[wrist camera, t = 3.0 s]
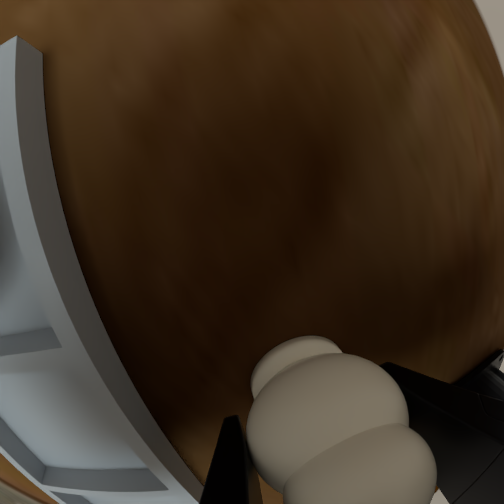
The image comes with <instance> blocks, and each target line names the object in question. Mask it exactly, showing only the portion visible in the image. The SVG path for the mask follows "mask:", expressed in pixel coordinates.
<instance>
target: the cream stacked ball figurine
mask: <svg viewBox="0 0 504 504" xmlns="http://www.w3.org/2000/svg"><path fill="white" fill-rule="evenodd" d="M250 387H251V391H252V394H253V397H254V402H253V404H252V407H251V409H250V412H249V415H248V420H247V425H246V444H247V448H248V452H249V455H250V458H251V461H252V464H253V466H254V467H255V469H256V471H257V472H258V474H259V475H260V476H261V478H262V479H263V480H264V481H265V482H266V483H267V484H268V485H270V486H271V487H272V488H273V489H274V490H276V491H277V492H279V493H281V494H283V504H430V502H431V500H432V497H433V495H434V491H435V487H436V481H437V468H436V462H435V458H434V456H433V453H432V451H431V449H430V447H429V446H428V444H427V443H426V441H425V440H424V439H423V438H422V437H421V436H420V435H419V434H418V433H416V432H415V431H414V430H412V429H411V428H409V414H408V408H407V404H406V401H405V397H404V395H403V393H402V391H401V390H400V388H399V386H398V384H397V383H396V382H395V380H394V379H393V378H392V377H391V376H390V375H389V374H388V373H387V372H386V371H385V370H384V369H383V368H381V367H379V366H378V365H376V364H375V363H373V362H371V361H369V360H367V359H364V358H362V357H359V356H355V355H350V354H345V353H343V352H342V351H341V350H340V349H339V348H338V346H337V345H336V344H335V343H334V342H333V341H331V340H329V339H327V338H325V337H321V336H302V337H297V338H293V339H290V340H288V341H285V342H283V343H281V344H279V345H278V346H276V347H274V348H273V349H272V350H270V351H269V352H268V353H267V354H265V355H264V356H263V357H262V359H261V360H260V361H259V362H258V364H257V365H256V366H255V368H254V370H253V373H252V375H251V380H250Z"/></svg>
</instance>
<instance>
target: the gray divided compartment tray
mask: <svg viewBox="0 0 504 504" xmlns="http://www.w3.org/2000/svg"><path fill="white" fill-rule="evenodd" d="M0 453H1V454H2V455H3V456H4V457H5V458H6V459H7V460H8V461H9V462H11V463H12V464H13V465H14V466H15V467H16V468H17V469H18V470H19V471H20V472H21V473H22V474H24V475H25V476H26V477H27V478H28V479H29V480H30V481H32V482H33V483H34V484H35V485H36V486H38V487H39V488H40V489H41V490H43V491H44V492H45V493H46V494H48V495H49V496H50V497H52V498H53V499H54V500H56V501H57V502H58V503H60V504H199V501H200V498H201V495H202V492H203V488H204V487H203V486H202V484H201V483H200V482H199V481H198V479H197V478H196V477H195V476H194V474H193V473H192V472H191V471H190V469H189V468H188V467H187V466H186V464H185V463H184V462H183V460H182V459H181V458H180V456H179V455H178V453H177V452H176V451H175V449H174V448H173V447H172V445H171V444H170V442H169V441H168V439H167V438H166V437H165V435H164V434H163V432H162V431H161V429H160V428H159V426H158V425H157V423H156V421H155V420H154V418H153V417H152V415H151V414H150V412H149V410H148V409H147V407H146V405H145V404H144V402H143V401H142V399H141V397H140V395H139V394H138V392H137V390H136V389H135V387H134V385H133V383H132V381H131V380H130V378H129V376H128V374H127V372H126V370H125V369H124V367H123V365H122V363H121V361H120V359H119V357H118V355H117V353H116V351H115V349H114V347H113V345H112V343H111V341H110V339H109V336H108V334H107V332H106V330H105V328H104V326H103V323H102V321H101V319H100V316H99V314H98V312H97V309H96V307H95V305H94V302H93V300H92V297H91V295H90V292H89V290H88V287H87V284H86V282H85V279H84V276H83V273H82V271H81V268H80V265H79V262H78V259H77V256H76V253H75V250H74V247H73V244H72V240H71V237H70V234H69V230H68V227H67V223H66V220H65V216H64V212H63V208H62V204H61V200H60V196H59V192H58V187H57V183H56V178H55V173H54V168H53V163H52V157H51V151H50V145H49V138H48V131H47V123H46V113H45V103H44V88H43V53H41V52H40V51H38V50H37V49H36V48H34V47H33V46H31V45H30V44H28V43H27V42H26V41H24V40H23V39H21V38H20V37H18V36H15V37H14V38H12V39H10V40H9V41H7V42H5V43H4V44H2V45H1V46H0Z"/></svg>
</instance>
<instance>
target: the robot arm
mask: <svg viewBox="0 0 504 504" xmlns="http://www.w3.org/2000/svg"><path fill="white" fill-rule="evenodd" d="M503 358H504V351H503V350H502V349H500V350H498V351H497V352H496V353H495V354H494V355H493V356H492V357H490V358H489V359H488V360H487V361H486V362H484V363H483V364H482V365H481V366H479V367H478V368H477V369H476V370H474V371H473V372H472V373H470V374H469V375H468V376H466V377H465V378H464V379H462V380H461V381H460V382H458V383H457V384H456V385H451V384H449V383H446V382H443V381H440V380H437V379H434V378H431V377H429V376H426V375H423V374H420V373H418V372H415V371H412V370H409V369H407V368H404V367H401V366H399V365H396V364H393V363H391V362H385V363H383V364H381V365H379V367H381V368H383V369H384V370H385V371H386V372H387V373H388V374H389V375H390V376H391V377H392V378H393V379H394V380H395V382H396V383H397V384H398V386H399V388H400V390H401V391H402V393H403V395H404V397H405V401H406V404H407V408H408V414H409V428H411V429H412V430H414V431H415V432H416V433H418V434H419V435H420V436H421V437H422V438H423V439H424V440H425V441H426V443H427V444H428V446H429V447H430V449H431V451H432V453H433V456H434V458H435V462H436V468H437V481H436V485H437V486H438V488H439V489H440V490H441V492H442V493H443V495H444V496H445V498H446V499H447V501H448V502H449V504H504V373H502V372H501V371H500V370H499V368H500V366H501V363H502V361H503ZM199 504H263V501H262V495H261V489H260V483H259V478H258V474H257V471H256V469H255V467H254V466H253V464H252V461H251V458H250V455H249V452H248V448H247V444H246V434H245V431H244V428H243V426H242V423H241V420H240V417H239V416H238V415H233V416H228V417H225V418H224V420H223V424H222V427H221V431H220V434H219V438H218V441H217V445H216V448H215V451H214V455H213V458H212V462H211V465H210V468H209V472H208V475H207V478H206V482H205V485H204V488H203V492H202V495H201V498H200V501H199Z"/></svg>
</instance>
